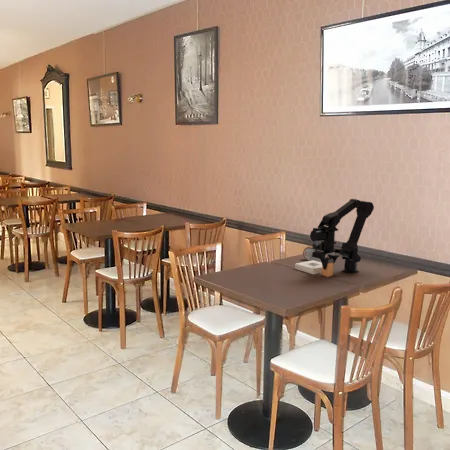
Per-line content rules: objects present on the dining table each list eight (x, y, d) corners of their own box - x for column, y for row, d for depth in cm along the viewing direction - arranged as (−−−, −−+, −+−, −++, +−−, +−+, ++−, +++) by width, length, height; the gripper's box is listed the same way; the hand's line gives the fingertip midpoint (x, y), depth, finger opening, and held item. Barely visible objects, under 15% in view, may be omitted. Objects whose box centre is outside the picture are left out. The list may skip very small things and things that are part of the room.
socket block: (313, 265, 272) (313, 260, 271) (331, 270, 260) (332, 265, 260) (295, 268, 264) (295, 263, 263) (313, 274, 252) (313, 269, 252)
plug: (327, 273, 254) (327, 257, 252) (332, 275, 251) (333, 258, 249) (321, 274, 252) (322, 258, 250) (327, 276, 248) (328, 259, 247)
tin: (328, 262, 278) (329, 248, 277) (326, 263, 276) (327, 249, 274) (304, 259, 286) (304, 245, 285) (302, 260, 284) (302, 246, 282)
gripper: (329, 235, 260) (328, 263, 262) (304, 239, 249) (303, 268, 252) (345, 238, 251) (344, 267, 254) (320, 242, 240) (319, 272, 243)
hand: (327, 268), depth 251 cm, fingers closed on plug, 4 cm apart
